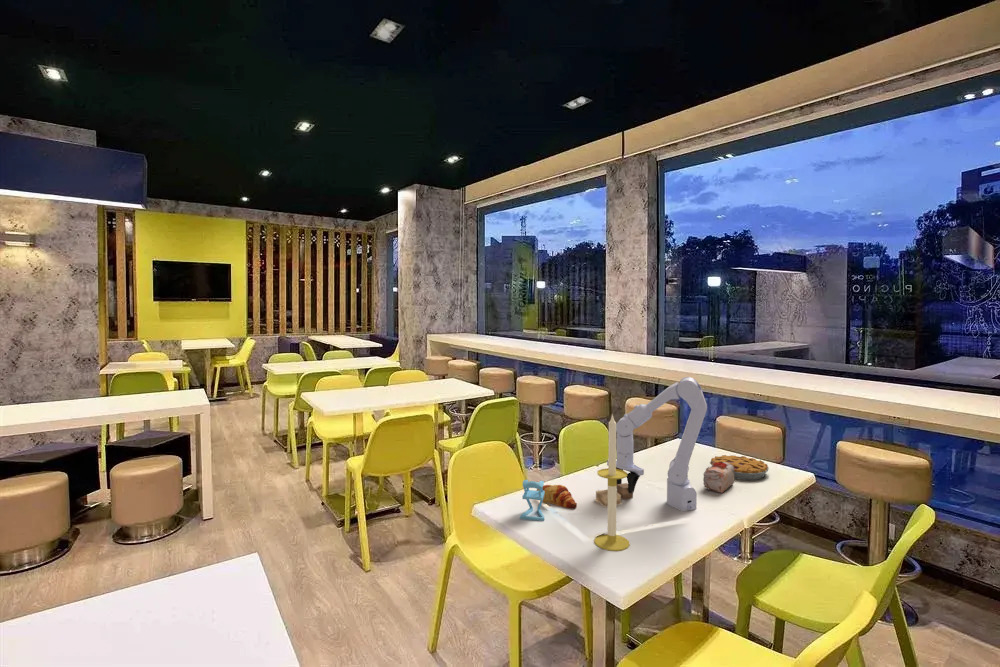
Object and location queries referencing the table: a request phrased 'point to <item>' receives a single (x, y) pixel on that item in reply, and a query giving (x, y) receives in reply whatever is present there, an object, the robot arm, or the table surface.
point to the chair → (533, 495)
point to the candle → (612, 497)
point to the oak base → (606, 497)
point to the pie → (744, 466)
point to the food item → (719, 476)
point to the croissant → (558, 496)
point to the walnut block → (624, 491)
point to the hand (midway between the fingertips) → (624, 490)
